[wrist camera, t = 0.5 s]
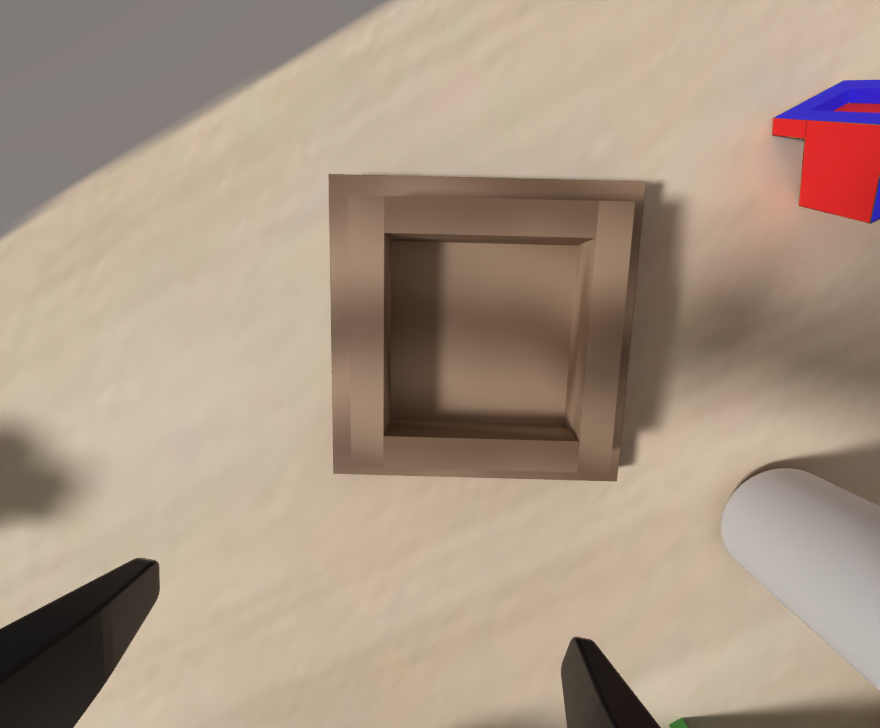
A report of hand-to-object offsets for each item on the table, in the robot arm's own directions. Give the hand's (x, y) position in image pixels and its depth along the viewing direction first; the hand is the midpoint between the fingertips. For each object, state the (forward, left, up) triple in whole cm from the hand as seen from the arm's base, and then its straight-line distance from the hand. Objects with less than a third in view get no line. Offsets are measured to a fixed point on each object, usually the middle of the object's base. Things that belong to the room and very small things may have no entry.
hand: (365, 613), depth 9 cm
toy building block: (+14, -20, -15) cm, 29 cm away
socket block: (+5, -3, -14) cm, 15 cm away
